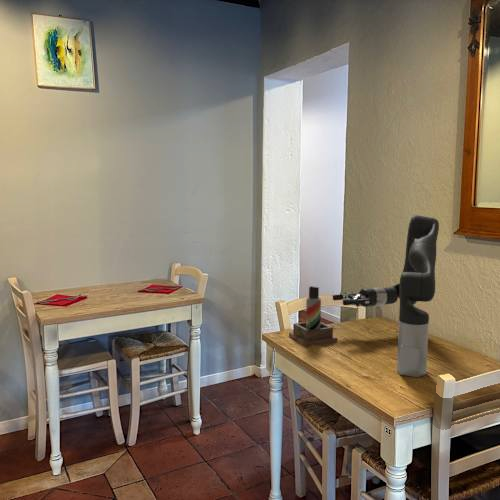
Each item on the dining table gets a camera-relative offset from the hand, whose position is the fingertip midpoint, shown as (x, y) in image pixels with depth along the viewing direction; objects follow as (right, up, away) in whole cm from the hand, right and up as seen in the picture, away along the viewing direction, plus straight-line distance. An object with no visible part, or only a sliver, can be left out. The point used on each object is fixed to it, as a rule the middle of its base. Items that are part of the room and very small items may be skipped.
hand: (338, 300), depth 196 cm
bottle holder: (-10, -15, -1) cm, 19 cm away
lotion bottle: (-10, -14, -2) cm, 18 cm away
